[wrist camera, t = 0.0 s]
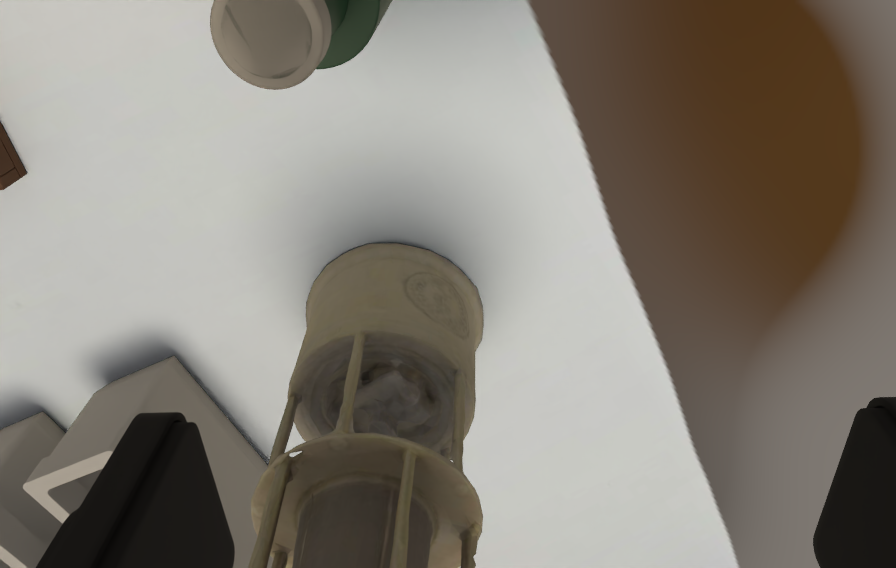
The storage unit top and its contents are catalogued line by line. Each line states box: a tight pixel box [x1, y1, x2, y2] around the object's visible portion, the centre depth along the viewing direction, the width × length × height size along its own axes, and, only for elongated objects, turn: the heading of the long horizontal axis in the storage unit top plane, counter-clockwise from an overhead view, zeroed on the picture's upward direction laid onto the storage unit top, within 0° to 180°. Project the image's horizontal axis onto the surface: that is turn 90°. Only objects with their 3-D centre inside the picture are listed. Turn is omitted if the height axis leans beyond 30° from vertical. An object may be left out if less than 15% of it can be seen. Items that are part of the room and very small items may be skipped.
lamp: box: [248, 243, 483, 568], centre depth 28 cm, size 10×13×30 cm
